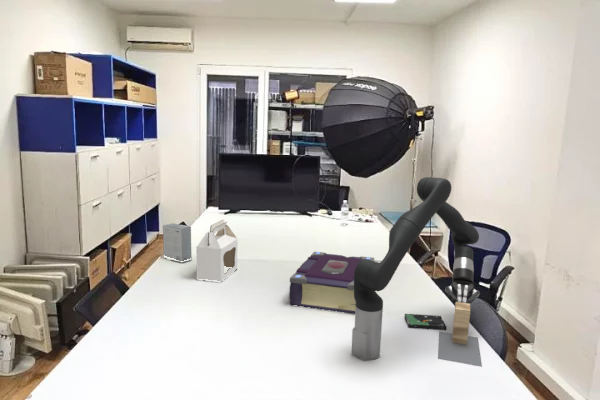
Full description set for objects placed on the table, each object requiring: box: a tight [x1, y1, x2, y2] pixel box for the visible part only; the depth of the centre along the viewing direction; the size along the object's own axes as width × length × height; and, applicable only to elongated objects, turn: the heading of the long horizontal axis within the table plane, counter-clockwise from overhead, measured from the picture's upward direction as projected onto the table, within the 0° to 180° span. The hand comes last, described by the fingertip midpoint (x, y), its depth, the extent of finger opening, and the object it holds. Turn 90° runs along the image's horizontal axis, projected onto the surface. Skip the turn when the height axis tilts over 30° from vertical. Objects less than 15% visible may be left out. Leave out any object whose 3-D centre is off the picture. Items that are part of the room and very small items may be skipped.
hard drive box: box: [162, 223, 192, 261], centre depth 252 cm, size 16×8×20 cm, turn 58°
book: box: [289, 251, 375, 315], centre depth 209 cm, size 33×45×14 cm
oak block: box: [452, 301, 471, 344], centre depth 161 cm, size 5×5×14 cm
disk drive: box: [404, 313, 447, 331], centre depth 177 cm, size 10×3×15 cm
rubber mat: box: [437, 330, 483, 368], centre depth 158 cm, size 22×14×1 cm, turn 161°
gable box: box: [196, 219, 238, 281], centre depth 227 cm, size 22×13×28 cm, turn 167°
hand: (461, 313), depth 163 cm, fingers closed
